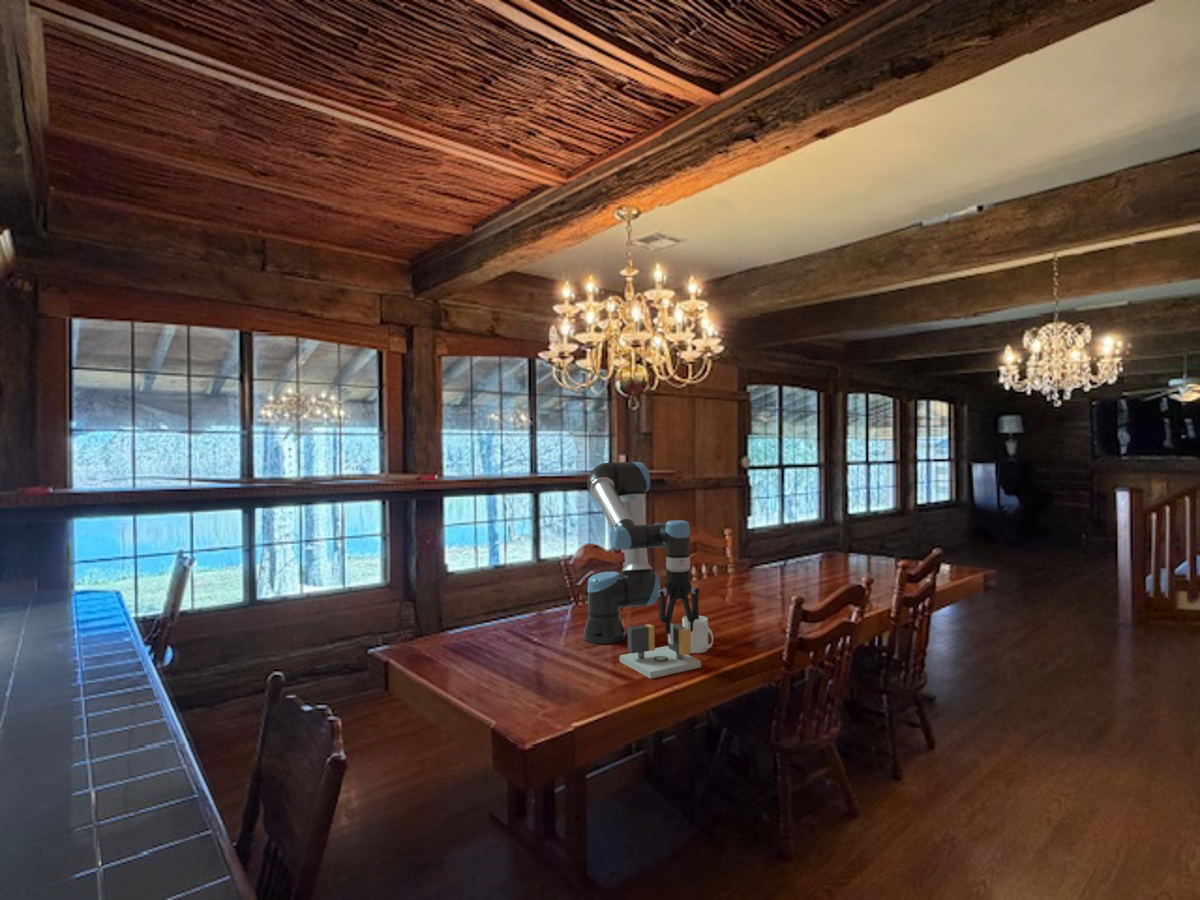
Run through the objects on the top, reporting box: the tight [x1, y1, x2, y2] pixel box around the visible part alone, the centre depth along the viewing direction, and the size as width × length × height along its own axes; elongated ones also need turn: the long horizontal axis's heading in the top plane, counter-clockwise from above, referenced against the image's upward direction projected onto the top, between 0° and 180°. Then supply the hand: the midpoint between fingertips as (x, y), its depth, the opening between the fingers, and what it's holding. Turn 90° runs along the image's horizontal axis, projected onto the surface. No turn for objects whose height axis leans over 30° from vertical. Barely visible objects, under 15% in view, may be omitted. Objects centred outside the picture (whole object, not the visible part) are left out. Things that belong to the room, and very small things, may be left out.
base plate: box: [619, 645, 702, 680], centre depth 203 cm, size 18×19×3 cm
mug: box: [681, 615, 714, 654], centre depth 216 cm, size 9×12×11 cm
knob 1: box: [626, 623, 656, 659], centre depth 203 cm, size 8×3×10 cm, turn 112°
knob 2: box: [668, 623, 692, 659], centre depth 202 cm, size 8×3×10 cm, turn 27°
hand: (679, 642), depth 202 cm, fingers open, 5 cm apart
